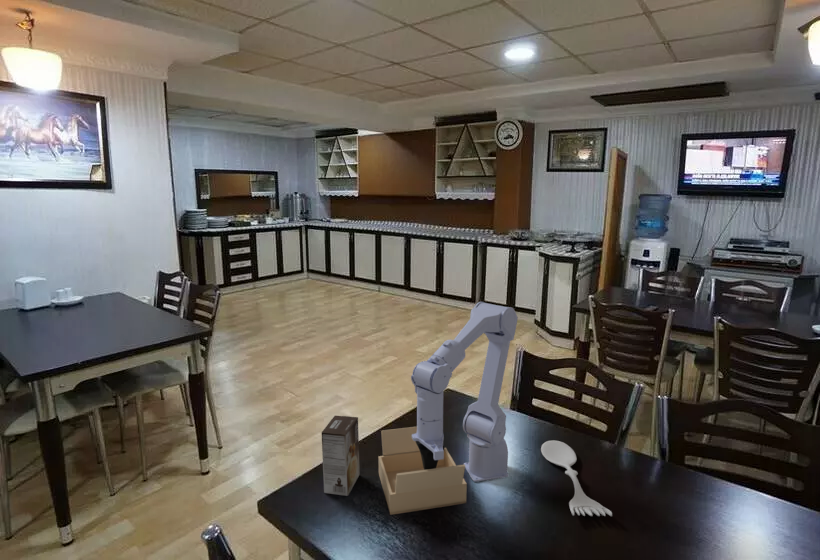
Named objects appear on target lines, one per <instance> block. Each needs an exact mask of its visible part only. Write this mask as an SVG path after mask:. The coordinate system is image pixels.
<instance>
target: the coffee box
mask: <svg viewBox="0 0 820 560" xmlns="http://www.w3.org/2000/svg"><path fill="white" fill-rule="evenodd" d="M359 440H360V439H359V416H358V417H357V416H347V415H334V416H333V417H332V419H331V420H330V421H329V422H328V424H326V426H325V427H324V429H322V431H321V444H322V445H321V449H322V450H321V451H322V453H321V454H322V472H323V493H324V494H329V495H330V494H331V495H337V496H338V495H339V496H346V497H347V496H349V495H350V494H351V491H352V490H353V487H354V486H355V484H356V482H357V480H358V478H359V476H360V475H361V474H360V448H359V447H360V441H359Z"/></svg>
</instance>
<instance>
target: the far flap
mask: <svg viewBox="0 0 820 560" xmlns="http://www.w3.org/2000/svg"><path fill="white" fill-rule="evenodd" d="M416 432H417V426H410V427H402V428H401V427H400V428H393V429H385V430H381V431H380V433H381V434H380V435H381V446H382V447H381V448H382V456H385V455H393V454H401V453H409V452H417V451H420V450H419V448H418V446H417V444H416V441H413V439H412V434H416Z"/></svg>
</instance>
